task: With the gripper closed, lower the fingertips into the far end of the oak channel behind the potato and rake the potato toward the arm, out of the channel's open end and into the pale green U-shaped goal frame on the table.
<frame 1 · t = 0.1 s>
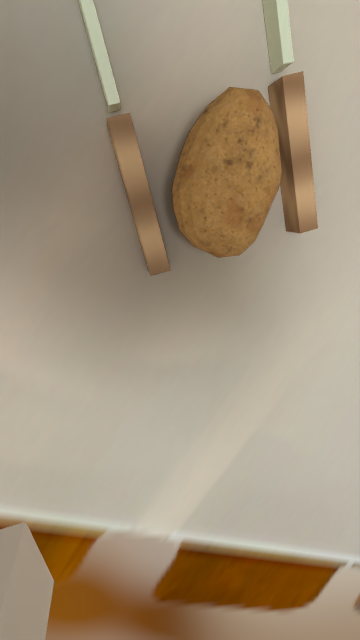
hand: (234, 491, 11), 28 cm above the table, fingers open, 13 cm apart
potato: (213, 181, 35), on the table
channel: (214, 180, 35), on the table
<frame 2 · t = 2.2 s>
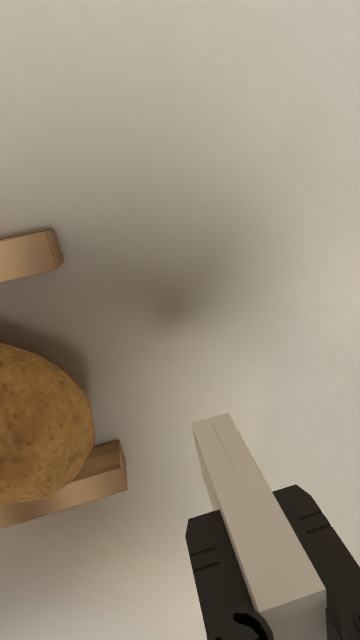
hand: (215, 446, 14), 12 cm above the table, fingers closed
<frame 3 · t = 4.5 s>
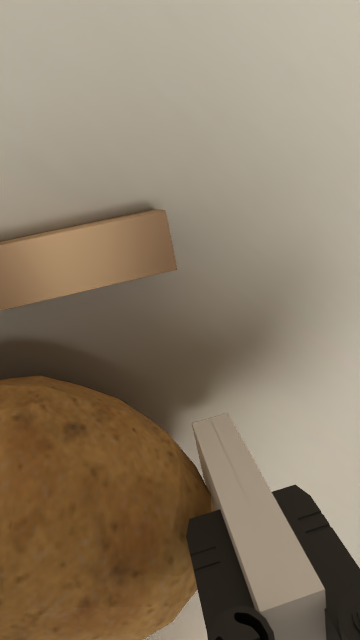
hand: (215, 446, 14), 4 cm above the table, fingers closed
potato: (40, 432, 16), on the table, touching gripper
channel: (53, 433, 16), on the table
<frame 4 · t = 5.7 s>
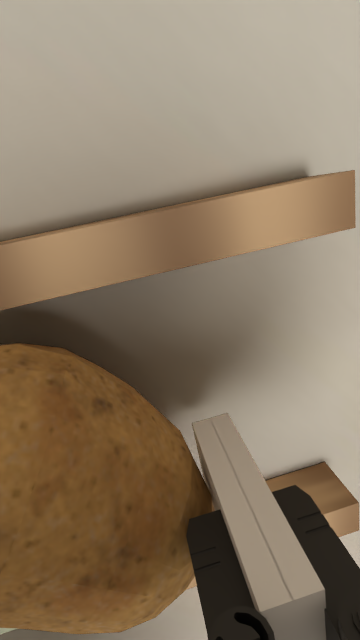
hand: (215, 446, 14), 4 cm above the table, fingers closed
potato: (39, 407, 16), on the table, touching gripper
channel: (191, 394, 17), on the table
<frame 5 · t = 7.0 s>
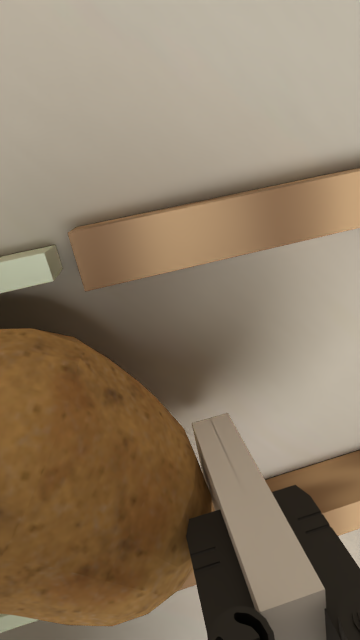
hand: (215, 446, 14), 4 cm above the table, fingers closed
potato: (41, 396, 16), on the table, touching gripper
channel: (261, 374, 18), on the table
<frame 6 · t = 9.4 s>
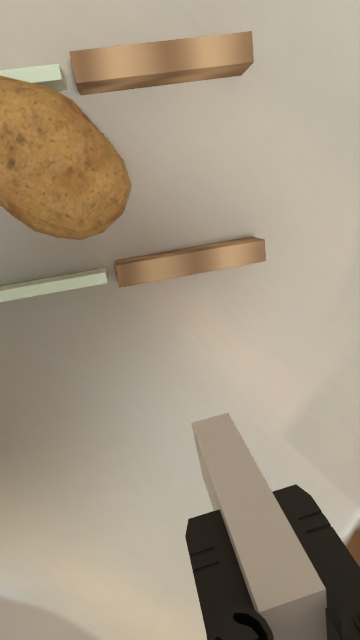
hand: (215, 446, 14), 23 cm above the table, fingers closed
potato: (52, 167, 30), on the table
goal frame: (2, 198, 30), on the table
channel: (175, 172, 32), on the table
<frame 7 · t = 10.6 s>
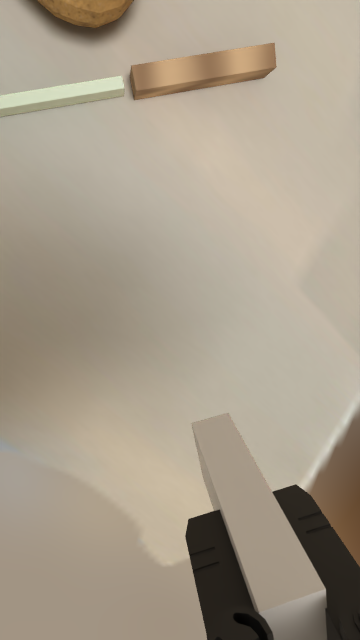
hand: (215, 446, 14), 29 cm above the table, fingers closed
goal frame: (18, 1, 31), on the table
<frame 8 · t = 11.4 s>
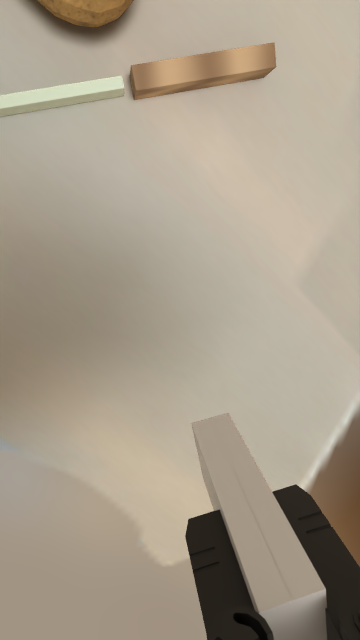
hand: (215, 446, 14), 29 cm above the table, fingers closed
goal frame: (18, 1, 31), on the table
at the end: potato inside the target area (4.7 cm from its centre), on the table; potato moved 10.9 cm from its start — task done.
